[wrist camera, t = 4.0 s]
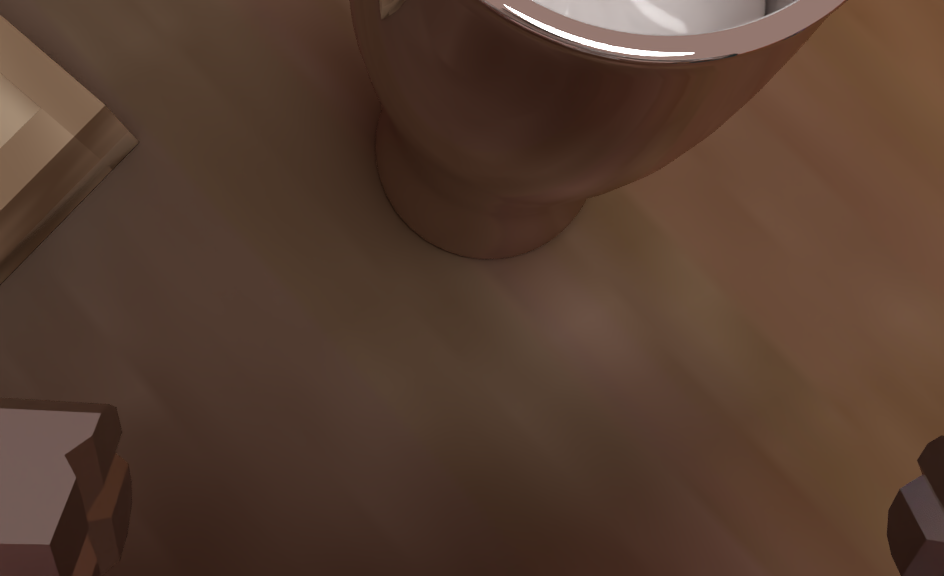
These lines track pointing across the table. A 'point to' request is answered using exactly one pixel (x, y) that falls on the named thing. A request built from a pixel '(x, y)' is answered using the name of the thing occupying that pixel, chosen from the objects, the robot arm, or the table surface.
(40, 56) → the tray
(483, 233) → the beer glass
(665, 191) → the table surface
